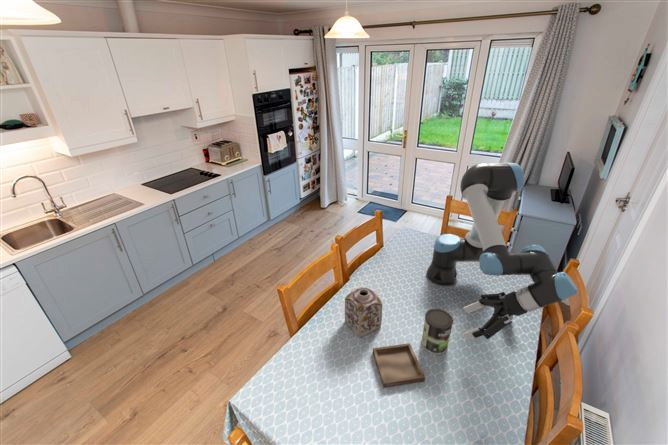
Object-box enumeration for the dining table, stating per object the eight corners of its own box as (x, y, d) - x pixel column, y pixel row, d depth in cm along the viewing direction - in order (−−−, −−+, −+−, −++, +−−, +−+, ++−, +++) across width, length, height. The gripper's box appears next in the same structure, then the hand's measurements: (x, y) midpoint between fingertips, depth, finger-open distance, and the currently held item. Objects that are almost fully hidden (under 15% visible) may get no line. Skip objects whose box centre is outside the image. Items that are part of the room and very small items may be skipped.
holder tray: (372, 352, 122) (372, 348, 120) (409, 347, 123) (409, 343, 122) (383, 387, 108) (383, 383, 107) (424, 381, 110) (425, 377, 109)
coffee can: (453, 347, 123) (459, 321, 116) (433, 358, 119) (438, 332, 112) (434, 330, 131) (439, 304, 124) (415, 339, 127) (419, 314, 120)
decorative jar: (381, 327, 133) (384, 295, 124) (359, 339, 128) (360, 306, 119) (365, 310, 142) (366, 279, 133) (344, 320, 137) (343, 288, 128)
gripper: (510, 271, 112) (459, 294, 124) (519, 319, 92) (457, 341, 104) (523, 286, 113) (471, 307, 125) (535, 337, 93) (471, 356, 105)
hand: (465, 322), depth 115 cm, fingers open, 13 cm apart
